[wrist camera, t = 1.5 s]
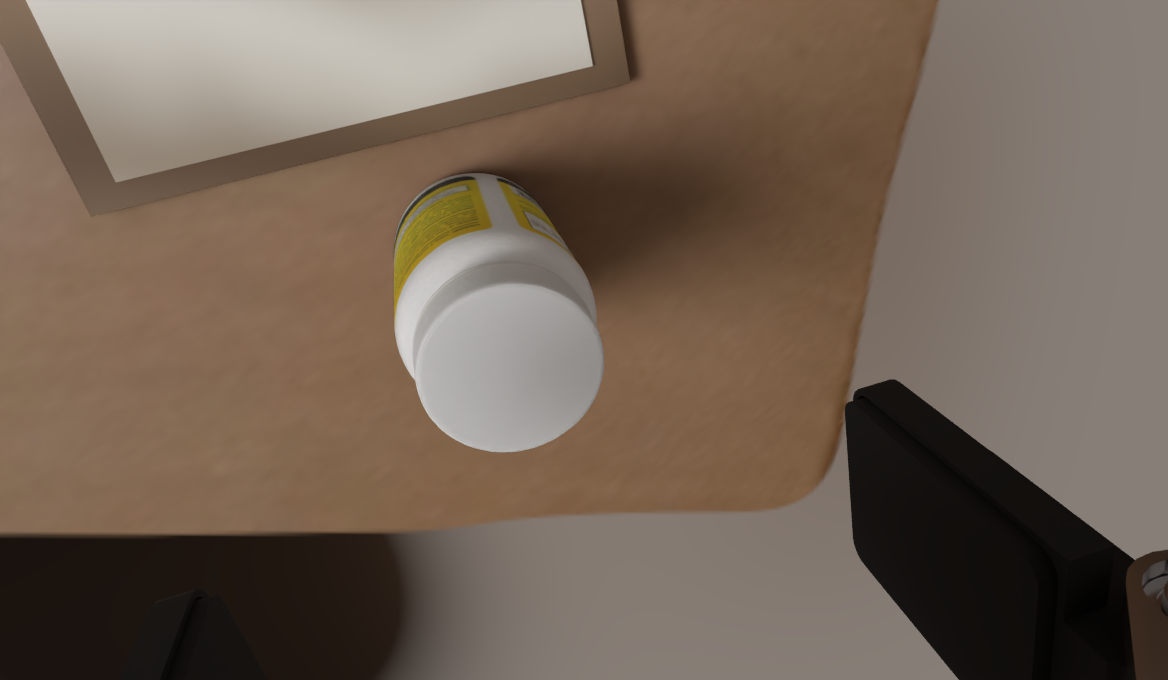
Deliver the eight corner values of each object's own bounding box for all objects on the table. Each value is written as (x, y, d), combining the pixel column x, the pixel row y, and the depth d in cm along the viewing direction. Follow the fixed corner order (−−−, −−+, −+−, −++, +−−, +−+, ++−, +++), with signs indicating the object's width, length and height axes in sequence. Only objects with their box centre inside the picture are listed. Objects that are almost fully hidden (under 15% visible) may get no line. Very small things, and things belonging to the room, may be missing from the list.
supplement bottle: (387, 312, 23) (381, 464, 16) (401, 159, 22) (402, 250, 14) (539, 325, 25) (600, 472, 17) (564, 182, 23) (644, 277, 15)
